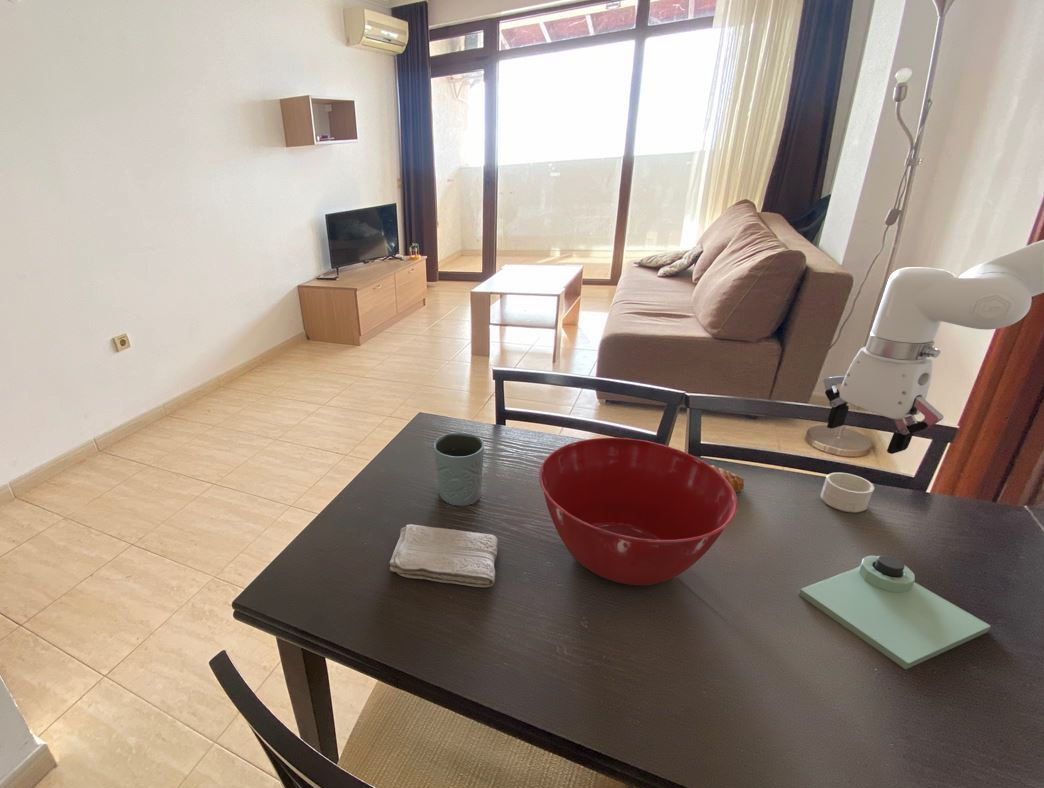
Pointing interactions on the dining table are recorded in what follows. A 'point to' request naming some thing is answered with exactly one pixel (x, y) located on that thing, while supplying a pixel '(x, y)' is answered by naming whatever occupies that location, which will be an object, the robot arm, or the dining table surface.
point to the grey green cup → (459, 467)
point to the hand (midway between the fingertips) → (863, 438)
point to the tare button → (889, 566)
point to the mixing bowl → (635, 507)
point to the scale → (894, 613)
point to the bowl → (847, 492)
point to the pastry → (732, 479)
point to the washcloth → (445, 556)
